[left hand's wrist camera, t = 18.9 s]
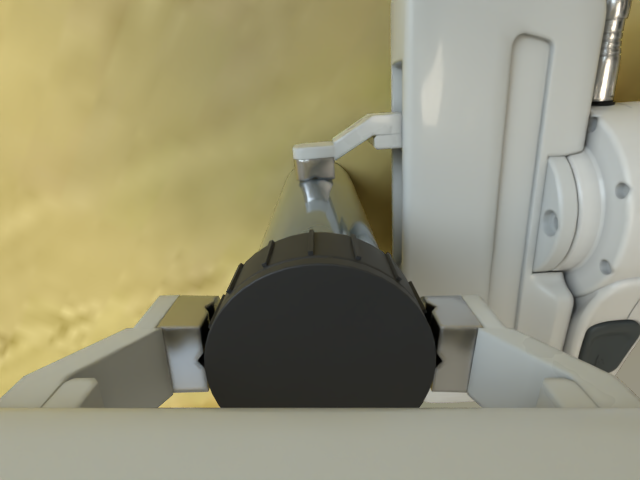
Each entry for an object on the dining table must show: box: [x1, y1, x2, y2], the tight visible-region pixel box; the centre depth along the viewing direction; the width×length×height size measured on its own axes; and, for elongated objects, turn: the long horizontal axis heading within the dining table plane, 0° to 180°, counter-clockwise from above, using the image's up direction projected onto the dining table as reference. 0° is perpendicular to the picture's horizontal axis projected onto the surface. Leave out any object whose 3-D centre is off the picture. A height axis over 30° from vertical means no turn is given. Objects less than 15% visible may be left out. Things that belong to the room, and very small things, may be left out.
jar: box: [259, 163, 380, 251], centre depth 16 cm, size 4×4×15 cm
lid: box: [204, 229, 436, 408], centre depth 9 cm, size 5×5×2 cm
